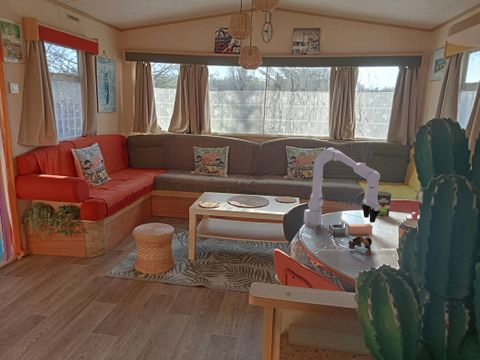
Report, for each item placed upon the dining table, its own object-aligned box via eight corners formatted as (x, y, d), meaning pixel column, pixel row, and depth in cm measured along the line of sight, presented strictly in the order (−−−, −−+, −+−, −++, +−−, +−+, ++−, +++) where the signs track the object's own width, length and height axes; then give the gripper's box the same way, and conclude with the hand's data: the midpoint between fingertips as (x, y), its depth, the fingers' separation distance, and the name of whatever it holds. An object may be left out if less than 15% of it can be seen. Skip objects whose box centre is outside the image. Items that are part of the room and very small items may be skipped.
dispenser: (333, 238, 180) (334, 224, 178) (327, 231, 190) (328, 218, 188) (370, 237, 181) (371, 224, 179) (362, 230, 191) (363, 218, 189)
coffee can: (390, 218, 211) (393, 195, 208) (372, 217, 213) (375, 194, 210) (386, 213, 221) (389, 191, 218) (369, 212, 223) (371, 190, 220)
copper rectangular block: (349, 233, 183) (349, 226, 182) (346, 231, 187) (347, 224, 186) (371, 233, 184) (372, 226, 183) (369, 231, 187) (369, 223, 187)
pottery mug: (365, 259, 157) (356, 242, 157) (350, 260, 165) (342, 244, 165) (380, 247, 163) (372, 230, 163) (365, 248, 171) (357, 233, 171)
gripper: (385, 198, 174) (382, 224, 177) (373, 191, 188) (370, 215, 191) (371, 198, 174) (369, 224, 177) (360, 191, 188) (358, 215, 191)
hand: (369, 219), depth 184 cm, fingers open, 7 cm apart
